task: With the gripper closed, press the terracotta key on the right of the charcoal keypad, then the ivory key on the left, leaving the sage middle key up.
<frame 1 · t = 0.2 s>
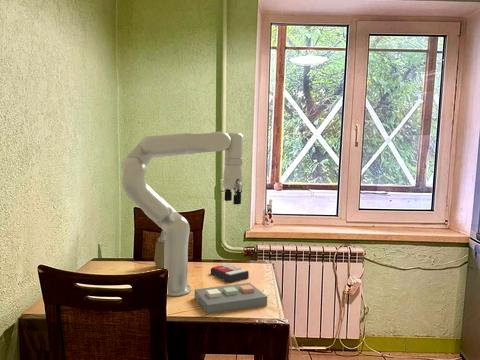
hand: (232, 202, 175), 36 cm above the table, tool pointing down, fingers open, 9 cm apart
button control box: (229, 277, 190), on the table
keypad: (230, 301, 160), on the table
key terracotta: (246, 290, 163), point 4 cm above the table, slide at 0.0 cm
key sage: (230, 292, 160), point 4 cm above the table, slide at 0.0 cm
key ivory: (213, 294, 157), point 4 cm above the table, slide at 0.0 cm
squeeze bottle: (162, 267, 200), on the table
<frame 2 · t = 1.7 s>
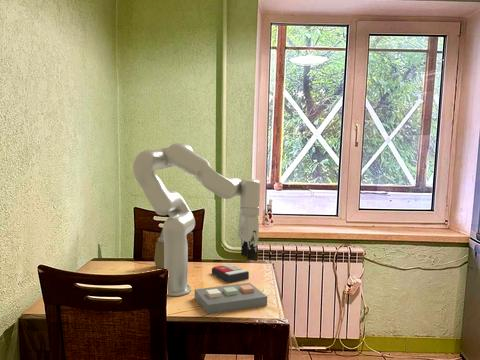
hand: (247, 256, 161), 17 cm above the table, tool pointing down, fingers open, 4 cm apart
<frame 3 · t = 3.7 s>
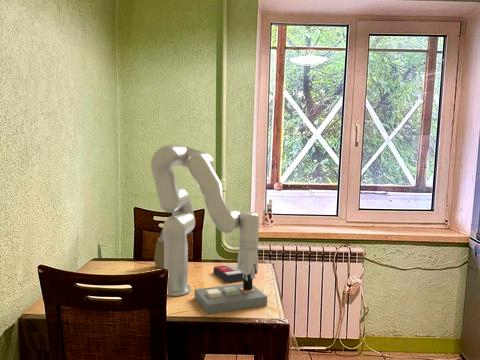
hand: (247, 289, 162), 4 cm above the table, tool pointing down, fingers closed
key terracotta: (246, 292, 163), point 3 cm above the table, slide at 0.9 cm, touching gripper
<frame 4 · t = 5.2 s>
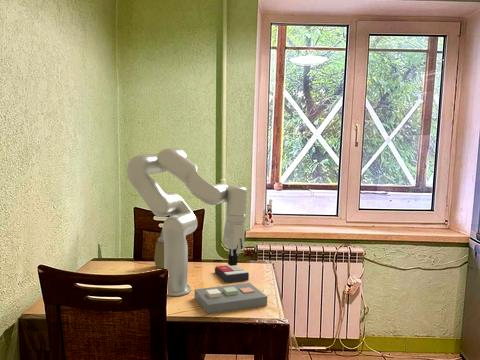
hand: (232, 264, 159), 15 cm above the table, tool pointing down, fingers closed
key terracotta: (246, 292, 163), point 3 cm above the table, slide at 1.1 cm
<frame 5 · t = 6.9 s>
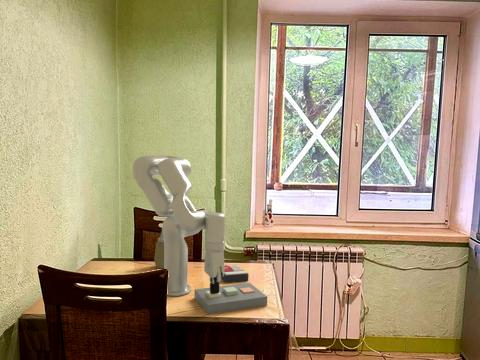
hand: (214, 292, 156), 5 cm above the table, tool pointing down, fingers closed
key ivory: (213, 295, 157), point 3 cm above the table, slide at 0.5 cm, touching gripper
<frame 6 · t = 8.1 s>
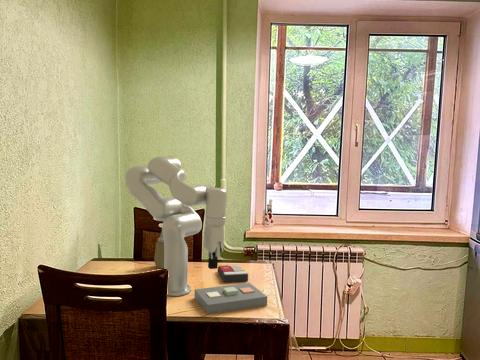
hand: (212, 268, 156), 14 cm above the table, tool pointing down, fingers closed
key ivory: (213, 297, 157), point 3 cm above the table, slide at 1.1 cm
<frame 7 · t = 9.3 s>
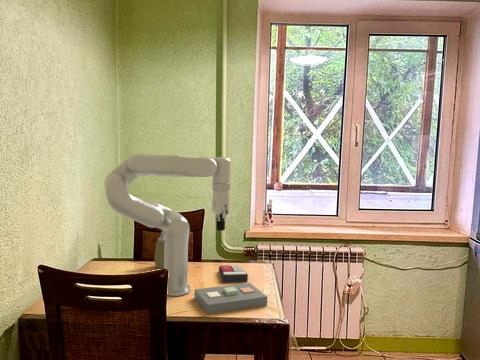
hand: (220, 229, 174), 25 cm above the table, tool pointing down, fingers closed
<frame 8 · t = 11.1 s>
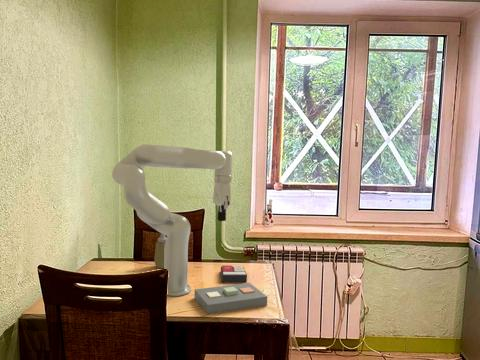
hand: (221, 220, 181), 27 cm above the table, tool pointing down, fingers closed
at the end: key terracotta slide at 1.1 cm; key ivory slide at 1.1 cm; key sage slide at 0.0 cm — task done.
